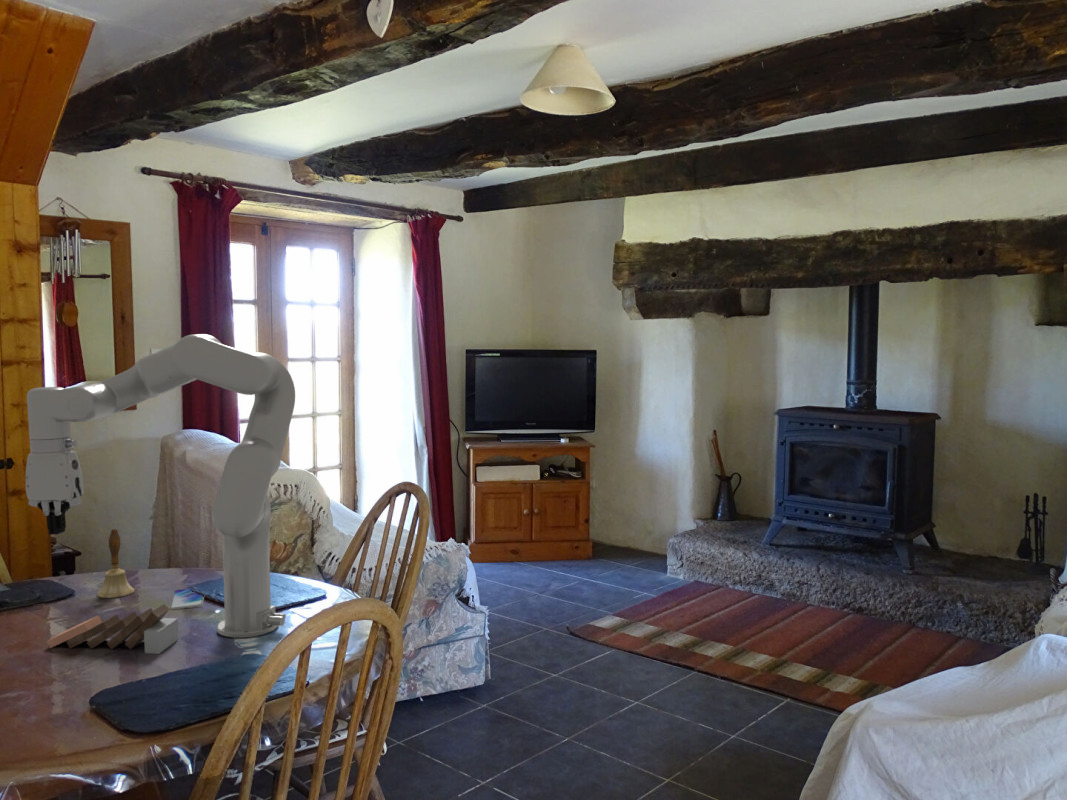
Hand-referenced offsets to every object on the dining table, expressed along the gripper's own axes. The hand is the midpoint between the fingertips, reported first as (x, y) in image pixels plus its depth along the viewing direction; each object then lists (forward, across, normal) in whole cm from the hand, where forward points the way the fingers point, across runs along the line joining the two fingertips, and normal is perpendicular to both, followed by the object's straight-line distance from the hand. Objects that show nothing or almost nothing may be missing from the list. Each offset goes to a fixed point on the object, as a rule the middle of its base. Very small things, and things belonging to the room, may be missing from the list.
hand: (57, 532), depth 179 cm
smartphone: (+23, -15, -26) cm, 38 cm away
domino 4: (+22, -14, +5) cm, 26 cm away
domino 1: (+21, -1, +5) cm, 22 cm away
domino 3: (+22, -10, +5) cm, 24 cm away
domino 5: (+22, -18, +5) cm, 29 cm away
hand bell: (+22, +4, -29) cm, 37 cm away
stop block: (+23, -24, +5) cm, 33 cm away
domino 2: (+22, -5, +5) cm, 23 cm away
